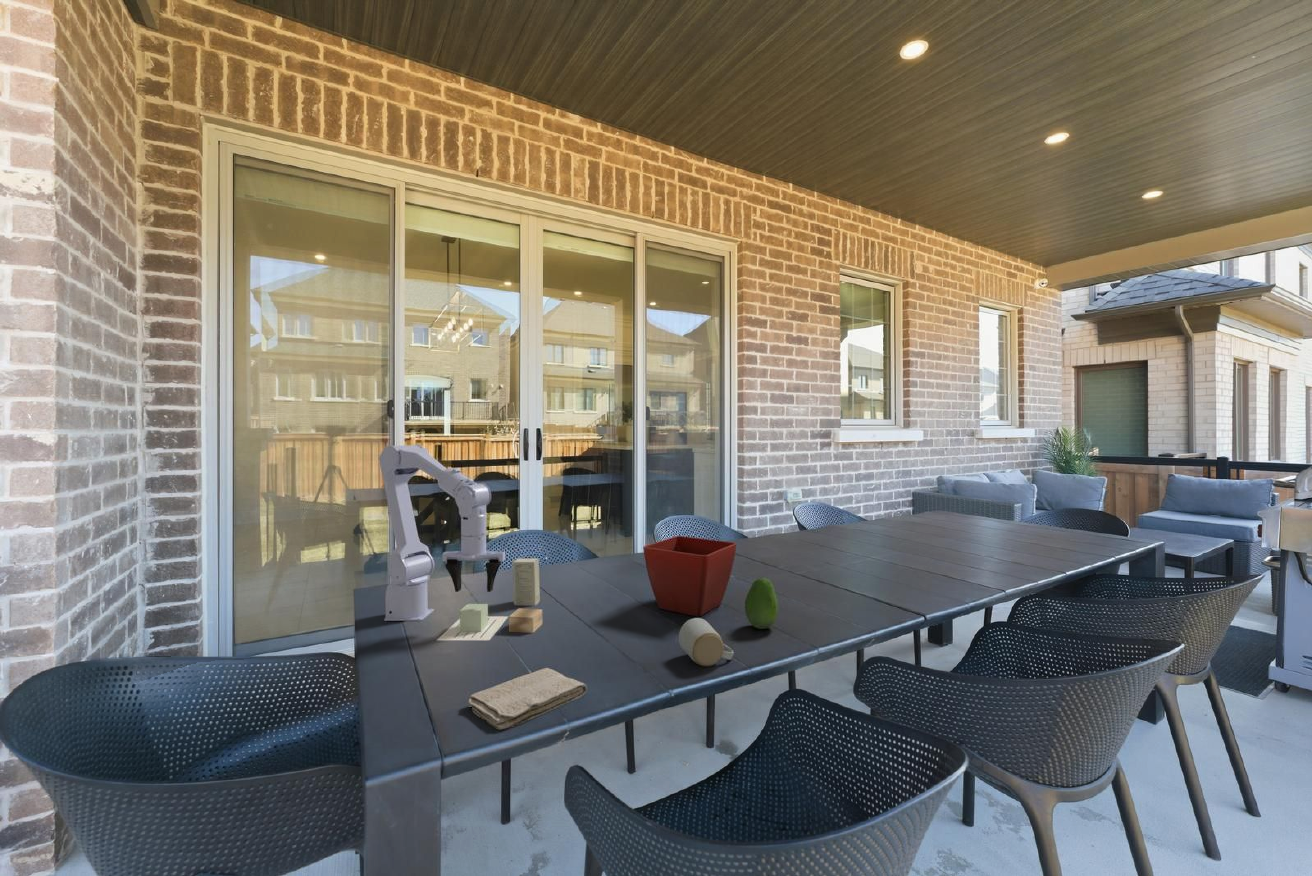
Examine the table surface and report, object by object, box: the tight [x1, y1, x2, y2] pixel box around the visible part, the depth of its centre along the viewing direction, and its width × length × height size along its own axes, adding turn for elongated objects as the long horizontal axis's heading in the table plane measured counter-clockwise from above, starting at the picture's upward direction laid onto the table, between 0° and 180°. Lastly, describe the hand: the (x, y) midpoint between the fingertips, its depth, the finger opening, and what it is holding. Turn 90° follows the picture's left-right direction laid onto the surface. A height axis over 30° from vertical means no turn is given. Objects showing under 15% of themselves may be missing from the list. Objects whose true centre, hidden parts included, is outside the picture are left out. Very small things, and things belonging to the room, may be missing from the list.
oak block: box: [508, 607, 543, 634], centre depth 133 cm, size 6×6×4 cm
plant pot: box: [642, 535, 737, 617], centre depth 149 cm, size 19×19×17 cm
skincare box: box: [512, 557, 541, 607], centre depth 152 cm, size 6×4×12 cm
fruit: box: [744, 577, 779, 630], centre depth 133 cm, size 8×8×12 cm
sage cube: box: [459, 603, 489, 632], centre depth 133 cm, size 5×5×5 cm
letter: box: [436, 615, 510, 642], centre depth 133 cm, size 12×16×1 cm
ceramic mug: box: [678, 617, 735, 667], centre depth 115 cm, size 11×8×8 cm
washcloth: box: [467, 667, 588, 731], centre depth 98 cm, size 12×18×3 cm, turn 138°
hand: (474, 590), depth 133 cm, fingers open, 7 cm apart
